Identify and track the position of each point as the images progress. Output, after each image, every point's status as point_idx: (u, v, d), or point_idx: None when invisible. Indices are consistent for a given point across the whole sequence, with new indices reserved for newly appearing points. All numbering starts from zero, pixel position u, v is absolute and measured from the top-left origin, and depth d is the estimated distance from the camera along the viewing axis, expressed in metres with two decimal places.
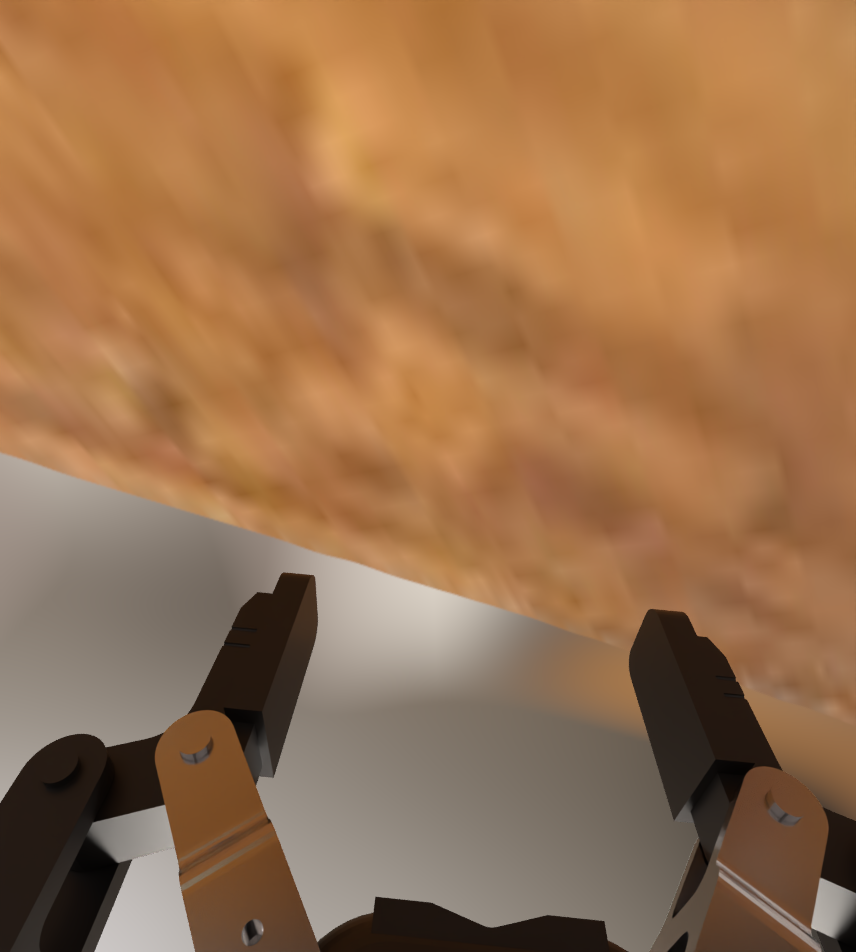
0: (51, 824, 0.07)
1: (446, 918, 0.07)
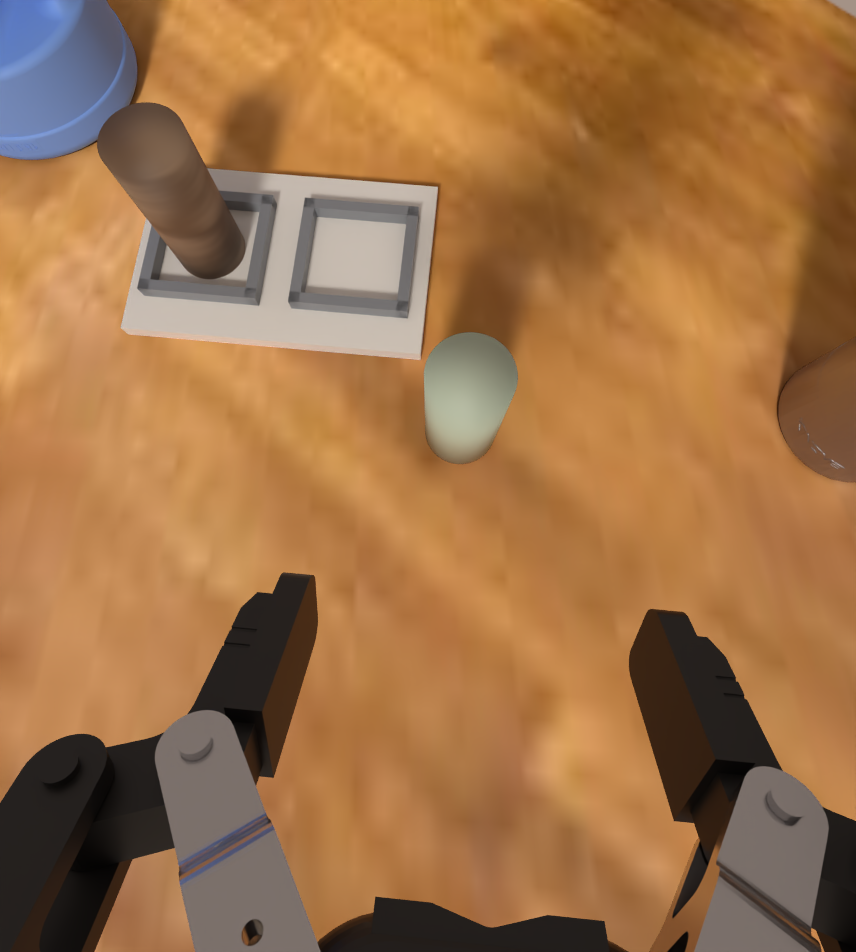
0: (51, 824, 0.07)
1: (446, 918, 0.07)
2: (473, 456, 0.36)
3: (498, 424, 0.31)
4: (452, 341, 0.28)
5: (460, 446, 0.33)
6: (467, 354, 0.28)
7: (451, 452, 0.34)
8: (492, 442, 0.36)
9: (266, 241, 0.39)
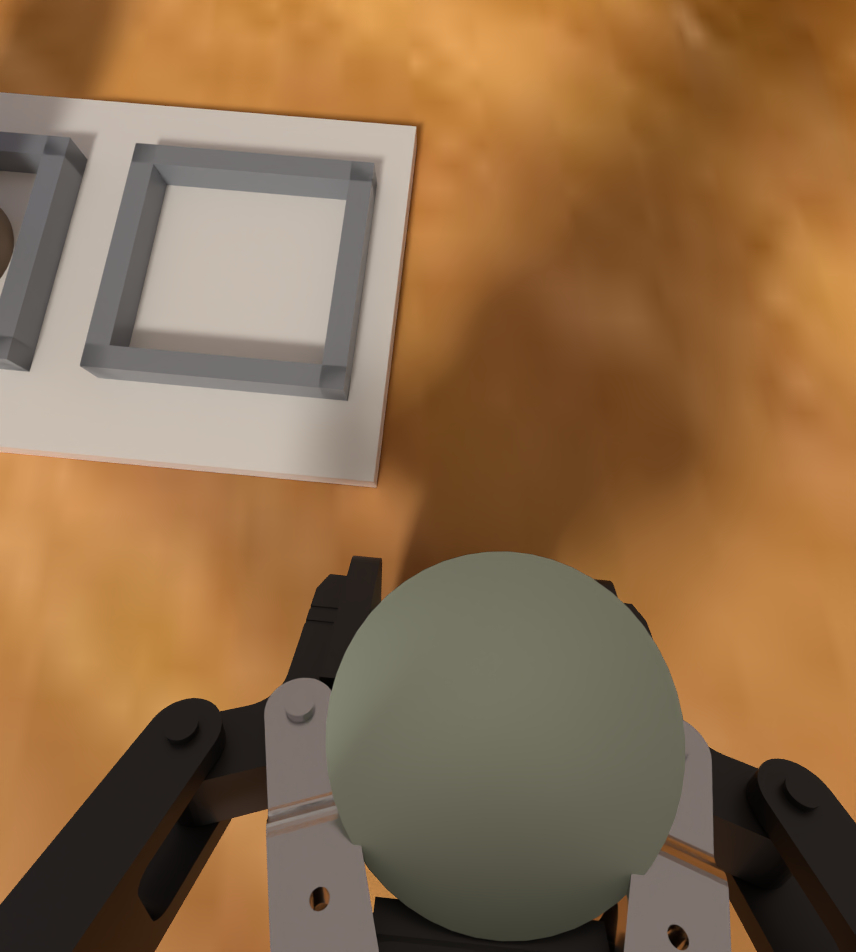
0: (181, 777, 0.08)
1: None
2: None
3: None
4: (434, 590, 0.08)
5: None
6: (491, 640, 0.08)
7: None
8: None
9: (49, 234, 0.18)
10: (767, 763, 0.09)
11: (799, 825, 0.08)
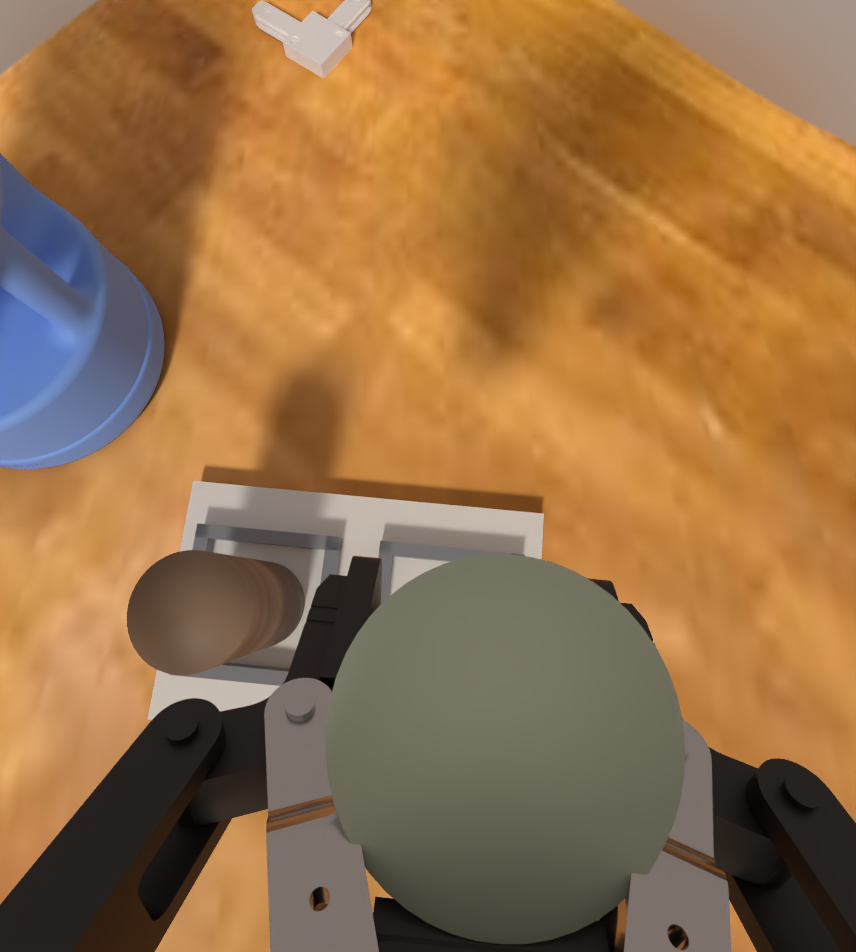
0: (181, 777, 0.08)
1: None
2: None
3: None
4: (434, 593, 0.08)
5: None
6: (490, 643, 0.08)
7: None
8: None
9: None
10: (768, 764, 0.09)
11: (799, 825, 0.08)
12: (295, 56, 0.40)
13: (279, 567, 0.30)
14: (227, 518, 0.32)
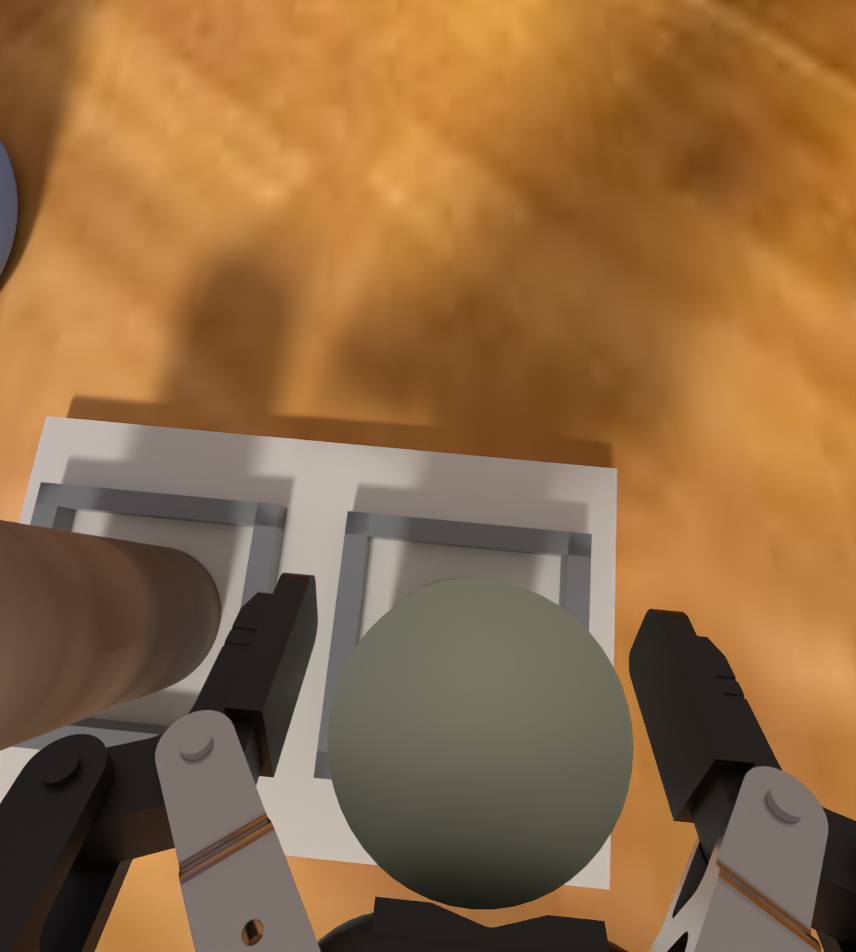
0: (51, 824, 0.07)
1: (446, 918, 0.07)
2: None
3: None
4: (422, 612, 0.09)
5: None
6: (469, 656, 0.09)
7: None
8: None
9: None
10: None
11: None
12: None
13: (171, 555, 0.17)
14: (98, 476, 0.20)
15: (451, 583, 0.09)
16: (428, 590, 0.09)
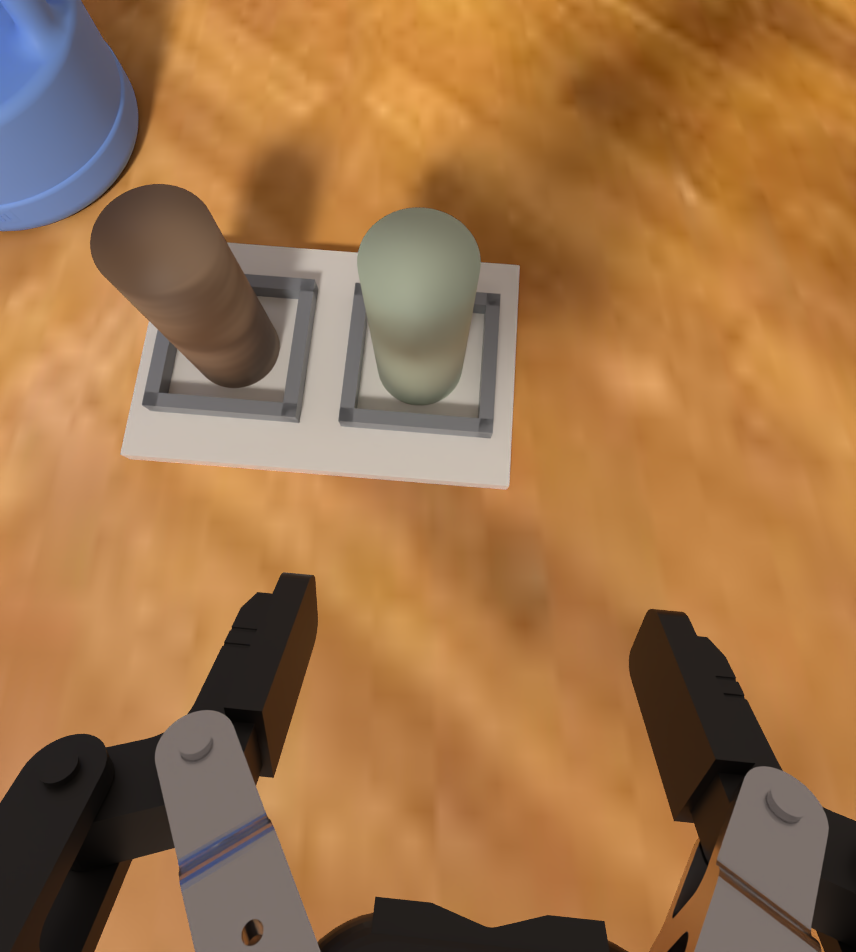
0: (51, 824, 0.07)
1: (446, 918, 0.07)
2: (433, 392, 0.29)
3: (459, 338, 0.24)
4: (395, 218, 0.22)
5: (413, 371, 0.26)
6: (415, 234, 0.21)
7: (404, 384, 0.28)
8: (458, 378, 0.30)
9: (307, 339, 0.30)
10: None
11: None
12: None
13: None
14: None
15: (408, 209, 0.22)
16: None
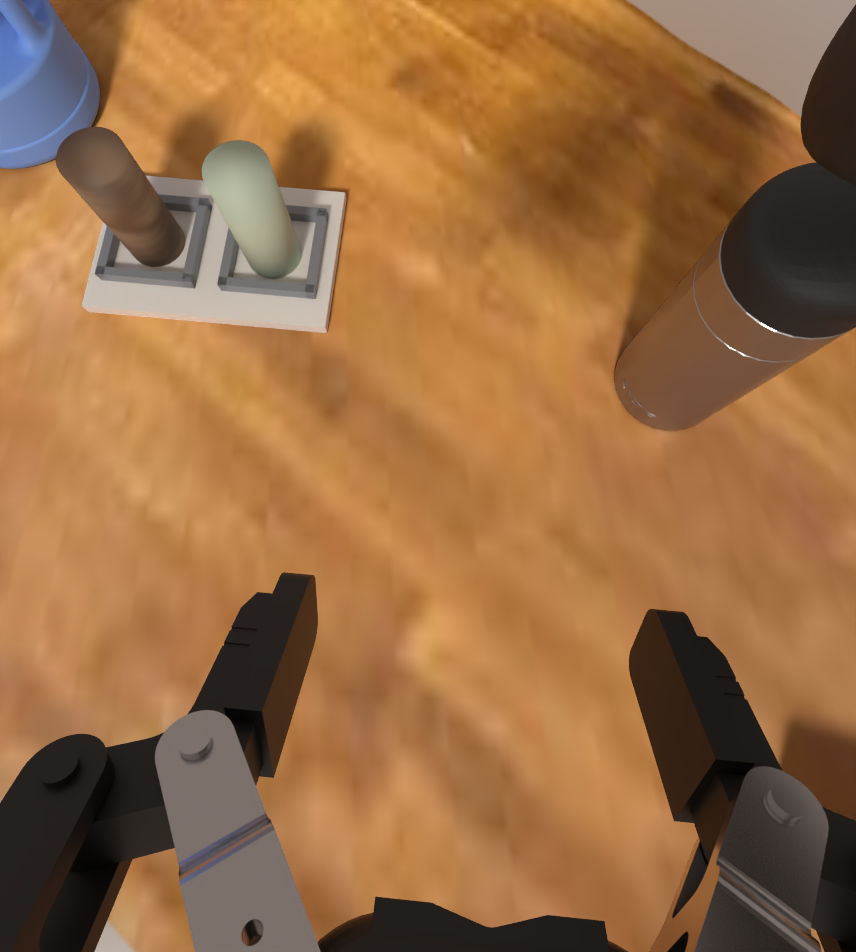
0: (51, 824, 0.07)
1: (446, 918, 0.07)
2: (275, 266, 0.46)
3: (272, 221, 0.41)
4: (225, 146, 0.39)
5: (252, 245, 0.43)
6: (235, 154, 0.39)
7: (254, 258, 0.45)
8: (294, 259, 0.47)
9: (201, 236, 0.48)
10: None
11: None
12: None
13: None
14: None
15: (233, 141, 0.39)
16: (227, 142, 0.39)
